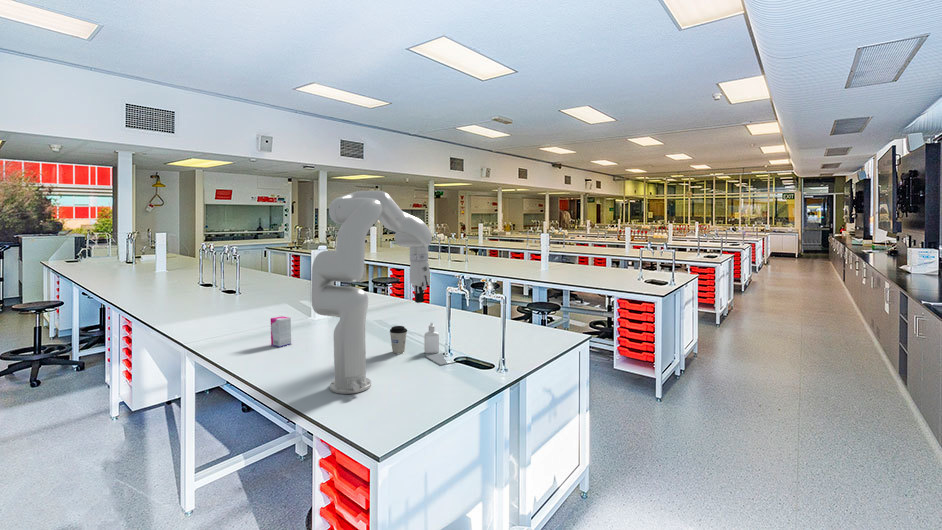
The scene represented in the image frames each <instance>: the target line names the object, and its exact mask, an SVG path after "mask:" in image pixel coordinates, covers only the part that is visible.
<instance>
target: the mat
mask: <svg viewBox="0 0 942 530" xmlns="http://www.w3.org/2000/svg"><path fill="white" fill-rule="evenodd" d="M443 353H444V352H441V353H440V352H438V353H432V354H428V355H425V356H424V357H425V358H426V359H428V360H430V361H431V360H432V362H433V361H434V362H433V363H435V362H436V363H435V364H437V363H438V364H439V366H440V365H442V366H445V364H447V362H446V360H445V359H444V356H443ZM438 364H437V365H438ZM447 365H448V364H447Z"/></svg>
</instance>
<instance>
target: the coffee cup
mask: <svg viewBox="0 0 942 530" xmlns="http://www.w3.org/2000/svg"><path fill="white" fill-rule="evenodd" d="M407 332H408V328H405V326H403V325H394V326H391V329H389V334H390V340H391V349H392V354H394V353H397V354H396V355H399V354H398V353H402V354H404V353H405V351H406V342H407ZM403 352H404V353H403Z"/></svg>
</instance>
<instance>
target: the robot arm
mask: <svg viewBox="0 0 942 530" xmlns="http://www.w3.org/2000/svg"><path fill="white" fill-rule="evenodd" d="M328 214H329V217H330V220H331V221H333V222H334V223H336V224H338V225H341V226H340V228H339V229H338V232H337V234H336V247H335V250H323V251H321V252H318V253H317V254H316V256H315V257H314V260H313V263H312V266H311V291H310V292H311V293H310V294H311V295H310V296H311V297H310V299H311V300H310V301H311V306H312V310H313V311H314V313H316V314H317V315H319V316H327V317H336V318H339V320H338V323H336V325H335V328H334V330H333V360H334V361H333V363H334V365H333V366H334V367H333V368H334V369H333V370H334V380H333V381H331V382H330V383H329V390H330V391H331V392H332V393H336V394H341V395H342V394H343V395H348V394H350V395H351V394H358V393H361V392H364V391H366V390H368V389H369V388H371V387H372V380H371V379H369V378H368V377H367V362H366V321H367V320H366V319H367V312H368V306H369V297H368V295H367V293H366V291H365V290H364V289H362V288H359V287H355V286H349V285H348V286H345V285H335V282H339V283H341V282H342V283H357V282H359V281H360V280H362V278H363V277H364V274H365V261H366V260H365V253H366V238H367V235H368V233H369V231H370V229H371V228H372V226H373V225H374V224H375V223H376V222H377V221H378V222H380V223H381V224H382V226H383V227H384V228H386V229H387V230H390V231H392V232H394V242H395V243H396V244H397V245H398V247H399V246H400V247H403V248H409V262H410V263H409V265H410V266H409V283H410V284H411V286H412V287H413V288H414V289H413V290H414V302H415V303H417V304H420V303H424V301H425V300H424V299H425V298H424V297H425V296H424V295H425V290H427V289H428V288H427V286H431V270H430V269H431V268H430V264H429V246H430V245H431V244H432V240H433V235H432V232H431V229H430V228H429V227H428V225H427V224H426V222H424V221H423V220H421V219H420V218H419V217H416V216H414V215H412V214H410V213H407V212H406V211H403V210H402V209H401V207H400V206H398V204H397V203H396V202H395V200H393V198H392V196H390V195H389V194H388V192H386V191H384V190H358V191H357V190H356V191H353V192H350V193H347V194H344V195H342V196H339V197H336V198H334V199H333V200H332V201H331V202H330V203H329V207H328Z"/></svg>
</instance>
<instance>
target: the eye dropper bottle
mask: <svg viewBox="0 0 942 530" xmlns="http://www.w3.org/2000/svg"><path fill="white" fill-rule="evenodd" d="M423 345H424V353H425V354H430V353H431V354H439V353H440V334H439V332H438V331H436V326H435V325H434V323H433V322H430V325H428V331H427V332H425V333H424V344H423Z"/></svg>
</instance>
